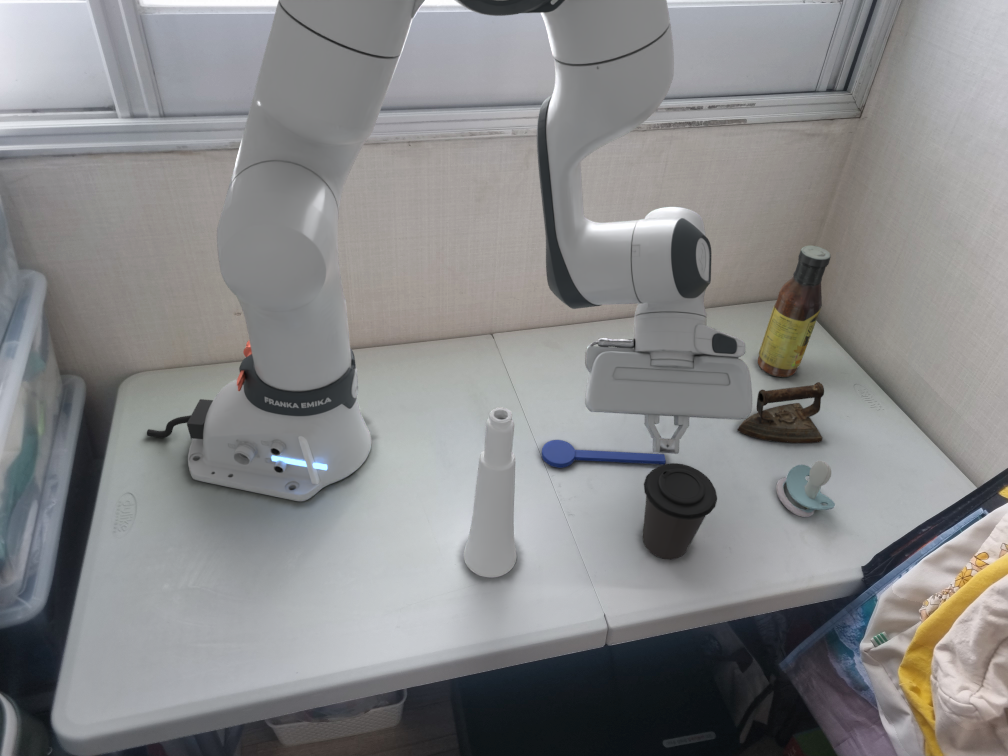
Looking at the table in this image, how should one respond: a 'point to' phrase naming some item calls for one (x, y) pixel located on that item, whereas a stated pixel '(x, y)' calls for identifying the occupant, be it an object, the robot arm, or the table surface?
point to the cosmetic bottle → (494, 501)
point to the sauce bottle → (794, 315)
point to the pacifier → (806, 488)
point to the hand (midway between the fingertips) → (665, 453)
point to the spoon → (592, 455)
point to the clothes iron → (785, 416)
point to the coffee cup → (675, 508)
